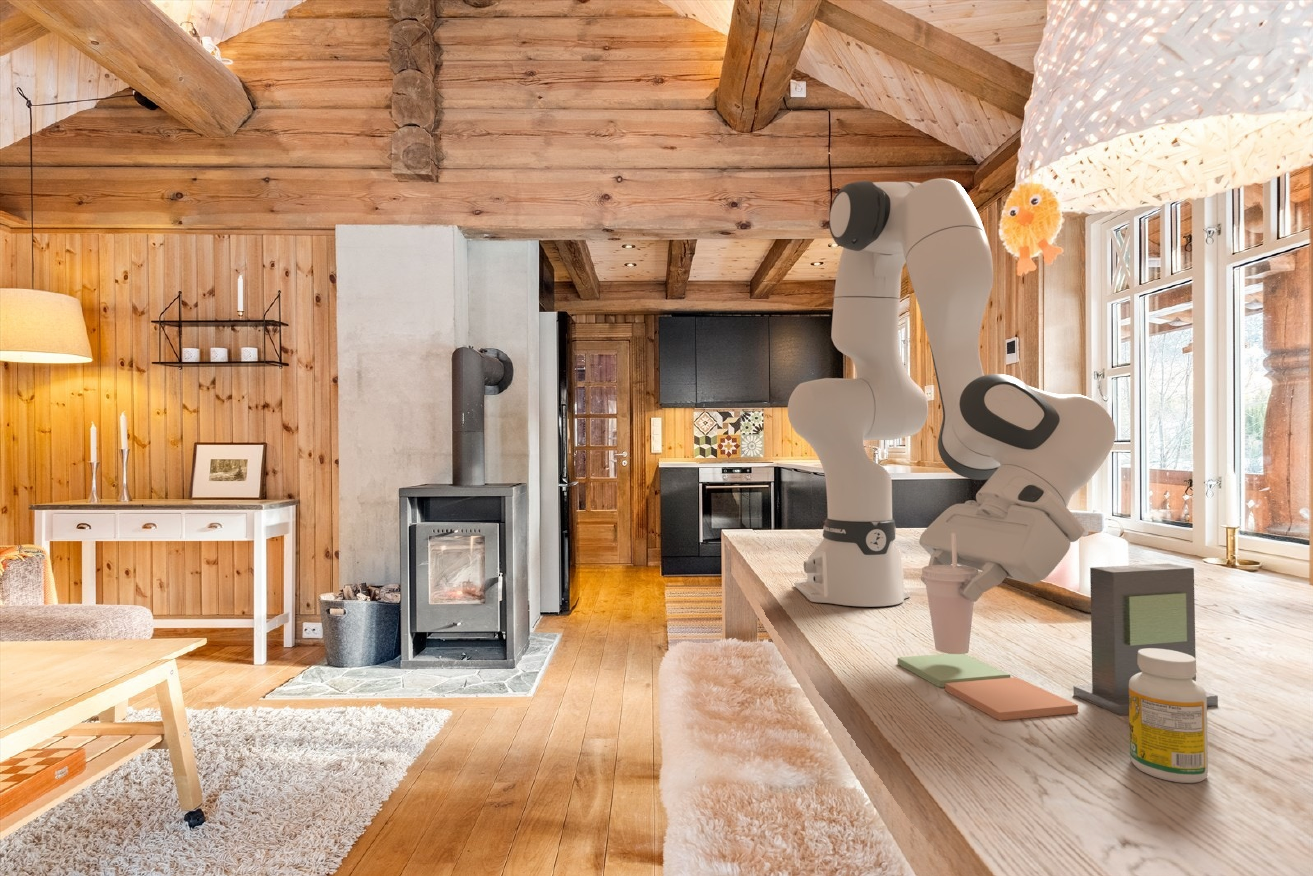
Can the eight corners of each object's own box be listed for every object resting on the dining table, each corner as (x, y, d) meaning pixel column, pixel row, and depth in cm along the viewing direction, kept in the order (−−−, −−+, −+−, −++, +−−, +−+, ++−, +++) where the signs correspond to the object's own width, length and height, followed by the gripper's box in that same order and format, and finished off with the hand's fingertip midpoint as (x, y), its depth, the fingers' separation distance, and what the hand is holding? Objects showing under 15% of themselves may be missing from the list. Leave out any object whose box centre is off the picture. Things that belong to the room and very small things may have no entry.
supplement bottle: (1197, 791, 56) (1194, 668, 57) (1119, 768, 61) (1117, 653, 61) (1216, 771, 60) (1214, 655, 60) (1142, 750, 64) (1140, 642, 64)
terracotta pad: (945, 690, 80) (945, 683, 80) (1016, 684, 82) (1016, 677, 82) (999, 720, 71) (999, 712, 71) (1078, 712, 73) (1077, 705, 73)
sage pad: (897, 664, 90) (897, 657, 90) (962, 658, 92) (961, 652, 92) (940, 687, 81) (939, 680, 81) (1010, 681, 83) (1010, 674, 83)
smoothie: (987, 658, 83) (983, 536, 83) (928, 656, 84) (925, 536, 84) (974, 643, 89) (971, 529, 89) (919, 641, 90) (916, 529, 90)
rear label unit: (1073, 695, 78) (1071, 565, 78) (1166, 686, 81) (1163, 561, 81) (1119, 715, 72) (1117, 575, 72) (1217, 705, 75) (1215, 570, 75)
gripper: (948, 484, 98) (883, 559, 96) (1061, 494, 78) (982, 589, 76) (978, 515, 99) (914, 590, 97) (1097, 533, 79) (1020, 628, 77)
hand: (945, 590), depth 86 cm, fingers closed on smoothie, 6 cm apart
